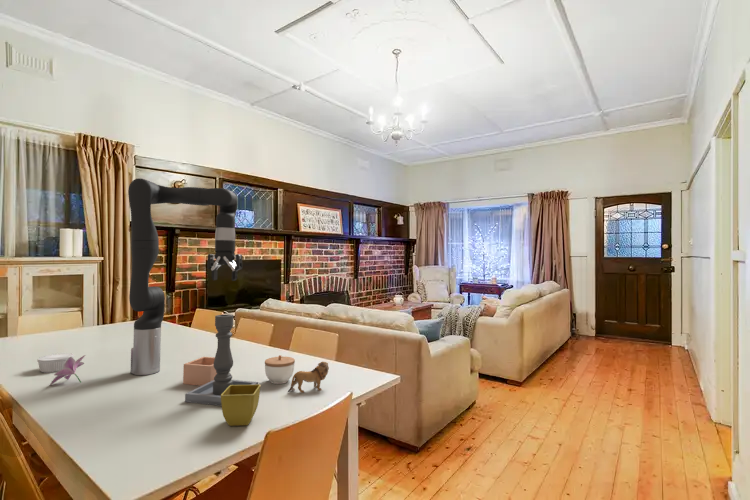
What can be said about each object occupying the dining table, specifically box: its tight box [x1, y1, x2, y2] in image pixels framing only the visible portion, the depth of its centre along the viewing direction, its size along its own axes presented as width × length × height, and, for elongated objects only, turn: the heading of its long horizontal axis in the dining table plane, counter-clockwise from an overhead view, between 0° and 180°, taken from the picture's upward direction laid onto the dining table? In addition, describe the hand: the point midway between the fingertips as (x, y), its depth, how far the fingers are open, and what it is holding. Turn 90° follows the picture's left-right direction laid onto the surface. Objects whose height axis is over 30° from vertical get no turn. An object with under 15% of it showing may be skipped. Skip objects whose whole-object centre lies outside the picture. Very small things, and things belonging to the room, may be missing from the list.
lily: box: [49, 354, 86, 386], centre depth 137 cm, size 12×12×10 cm
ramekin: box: [37, 352, 75, 373], centre depth 152 cm, size 11×11×5 cm
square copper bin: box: [182, 356, 217, 387], centre depth 141 cm, size 11×11×7 cm
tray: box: [184, 379, 259, 407], centre depth 126 cm, size 16×16×2 cm
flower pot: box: [221, 384, 261, 427], centre depth 106 cm, size 9×9×9 cm
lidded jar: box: [264, 355, 296, 385], centre depth 141 cm, size 11×11×9 cm
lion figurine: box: [287, 361, 330, 394], centre depth 132 cm, size 15×5×9 cm, turn 121°
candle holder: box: [213, 313, 234, 395], centre depth 126 cm, size 6×6×25 cm
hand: (224, 280), depth 153 cm, fingers open, 8 cm apart
